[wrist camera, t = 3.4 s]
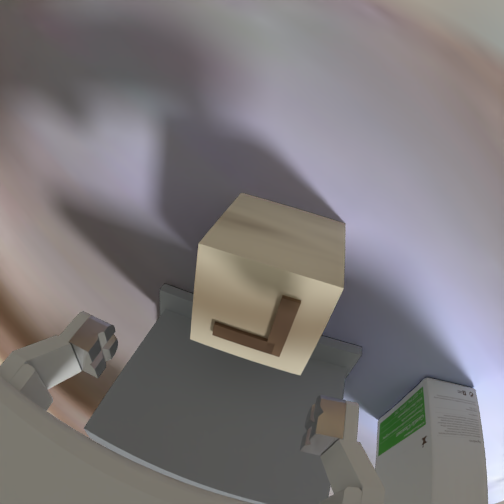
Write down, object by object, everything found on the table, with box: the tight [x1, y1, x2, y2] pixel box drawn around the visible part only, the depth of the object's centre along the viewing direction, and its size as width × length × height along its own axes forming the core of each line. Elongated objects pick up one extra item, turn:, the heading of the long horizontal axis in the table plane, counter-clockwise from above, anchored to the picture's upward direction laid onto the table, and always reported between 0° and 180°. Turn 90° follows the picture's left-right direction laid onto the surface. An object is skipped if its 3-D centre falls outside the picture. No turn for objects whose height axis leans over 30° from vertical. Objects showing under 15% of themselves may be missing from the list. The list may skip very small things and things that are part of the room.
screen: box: [84, 284, 362, 504], centre depth 18 cm, size 5×15×12 cm, turn 79°
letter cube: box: [190, 193, 345, 375], centre depth 16 cm, size 6×6×6 cm
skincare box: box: [375, 378, 488, 504], centre depth 16 cm, size 8×7×16 cm
